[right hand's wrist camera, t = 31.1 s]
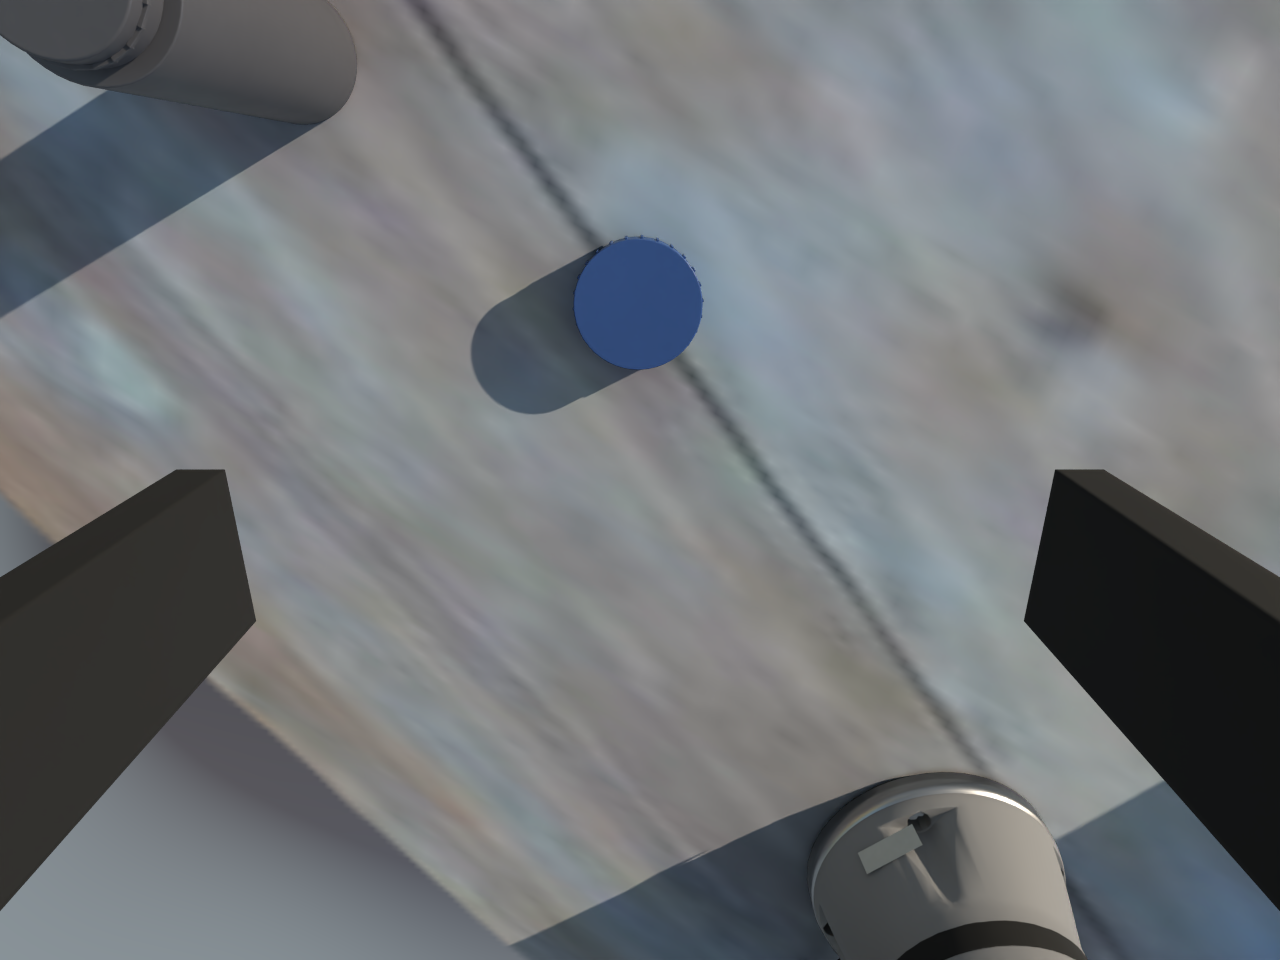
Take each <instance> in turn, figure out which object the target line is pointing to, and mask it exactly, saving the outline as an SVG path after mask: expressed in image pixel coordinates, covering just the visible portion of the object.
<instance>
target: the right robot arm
mask: <svg viewBox="0 0 1280 960" xmlns="http://www.w3.org/2000/svg"><path fill="white" fill-rule="evenodd" d="M255 622H256V618H255V614H254V609H253V604H252V599H251V594H250V589H249V584H248V580H247V575H246V570H245V565H244V560H243V555H242V551H241V546H240V541H239V536H238V531H237V526H236V521H235V517H234V512H233V507H232V502H231V497H230V492H229V488H228V483H227V478H226V473H225V470H175V471H173V472H172V473H170V474H168V475H167V476H165V477H163V478H162V479H160V480H159V481H157V482H155V483H154V484H152V485H150V486H149V487H147V488H146V489H144V490H142V491H141V492H139V493H137V494H136V495H134V496H132V497H131V498H129V499H128V500H126V501H124V502H123V503H121V504H119V505H118V506H116V507H114V508H113V509H111V510H110V511H108V512H106V513H105V514H103V515H101V516H100V517H98V518H96V519H95V520H93V521H92V522H90V523H88V524H87V525H85V526H83V527H82V528H80V529H78V530H77V531H75V532H74V533H72V534H70V535H69V536H67V537H65V538H64V539H62V540H61V541H59V542H57V543H56V544H54V545H52V546H51V547H49V548H47V549H46V550H44V551H43V552H41V553H39V554H38V555H36V556H34V557H33V558H31V559H29V560H28V561H26V562H25V563H23V564H21V565H20V566H18V567H16V568H15V569H13V570H12V571H10V572H8V573H7V574H5V575H3V576H2V577H0V911H1V909H2V908H3V907H4V906H5V905H6V904H7V903H8V902H9V900H10V899H11V898H12V897H13V896H14V895H15V894H16V892H17V891H18V890H19V889H20V888H21V887H22V886H23V885H24V883H25V882H26V881H27V880H28V879H29V878H30V877H31V875H32V874H33V873H34V872H35V871H36V870H37V869H38V868H39V866H40V865H41V864H42V863H43V862H44V861H45V860H46V858H47V857H48V856H49V855H50V854H51V853H52V852H53V850H54V849H55V848H56V847H57V846H58V845H59V844H60V843H61V841H62V840H63V839H64V838H65V837H66V836H67V835H68V833H69V832H70V831H71V830H72V829H73V828H74V827H75V826H76V824H77V823H78V822H79V821H80V820H81V819H82V818H83V817H84V815H85V814H86V813H87V812H88V811H89V810H90V809H91V807H92V806H93V805H94V804H95V803H96V802H97V801H98V800H99V798H100V797H101V796H102V795H103V794H104V793H105V792H106V790H107V789H108V788H109V787H110V786H111V785H112V784H113V783H114V781H115V780H116V779H117V778H118V777H119V776H120V775H121V773H122V772H123V771H124V770H125V769H126V768H127V767H128V766H129V764H130V763H131V762H132V761H133V760H134V759H135V758H136V756H137V755H138V754H139V753H140V752H141V751H142V750H143V749H144V747H145V746H146V745H147V744H148V743H149V742H150V741H151V739H152V738H153V737H154V736H155V735H156V734H157V733H158V731H159V730H160V729H161V728H162V727H163V726H164V725H165V724H166V722H167V721H168V720H169V719H170V718H171V717H172V716H173V715H174V713H175V712H176V711H177V710H178V709H179V708H180V707H181V705H182V704H183V703H184V702H185V701H186V700H187V699H188V698H189V696H190V695H191V694H192V693H193V692H194V691H195V690H196V689H197V687H198V686H199V685H200V684H201V683H202V682H203V681H204V679H205V678H206V677H207V676H208V675H209V674H210V673H211V672H212V670H213V669H214V668H215V667H216V666H217V665H218V664H219V662H220V661H221V660H222V659H223V658H224V657H225V656H226V655H227V653H228V652H229V651H230V650H231V649H232V648H233V647H234V645H235V644H236V643H237V642H238V641H239V640H240V639H241V638H242V636H243V635H244V634H245V633H246V632H247V631H248V630H249V628H250V627H251V626H252V625H253V624H254V623H255ZM1024 622H1025V623H1026V624H1027V625H1028V626H1029V627H1030V628H1031V630H1032V631H1033V632H1034V633H1035V634H1036V635H1037V636H1038V638H1039V639H1040V640H1041V641H1042V642H1043V643H1044V644H1045V645H1046V647H1047V648H1048V649H1049V650H1050V651H1051V652H1052V653H1053V655H1054V656H1055V657H1056V658H1057V659H1058V660H1059V661H1060V662H1061V664H1062V665H1063V666H1064V667H1065V668H1066V669H1067V670H1068V672H1069V673H1070V674H1071V675H1072V676H1073V677H1074V678H1075V679H1076V681H1077V682H1078V683H1079V684H1080V685H1081V686H1082V687H1083V689H1084V690H1085V691H1086V692H1087V693H1088V694H1089V695H1090V696H1091V698H1092V699H1093V700H1094V701H1095V702H1096V703H1097V704H1098V706H1099V707H1100V708H1101V709H1102V710H1103V711H1104V712H1105V713H1106V715H1107V716H1108V717H1109V718H1110V719H1111V720H1112V721H1113V722H1114V724H1115V725H1116V726H1117V727H1118V728H1119V729H1120V730H1121V732H1122V733H1123V734H1124V735H1125V736H1126V737H1127V738H1128V739H1129V741H1130V742H1131V743H1132V744H1133V745H1134V746H1135V747H1136V749H1137V750H1138V751H1139V752H1140V753H1141V754H1142V755H1143V756H1144V758H1145V759H1146V760H1147V761H1148V762H1149V763H1150V764H1151V766H1152V767H1153V768H1154V769H1155V770H1156V771H1157V772H1158V773H1159V775H1160V776H1161V777H1162V778H1163V779H1164V780H1165V781H1166V783H1167V784H1168V785H1169V786H1170V787H1171V788H1172V789H1173V790H1174V792H1175V793H1176V794H1177V795H1178V796H1179V797H1180V798H1181V800H1182V801H1183V802H1184V803H1185V804H1186V805H1187V806H1188V807H1189V809H1190V810H1191V811H1192V812H1193V813H1194V814H1195V815H1196V817H1197V818H1198V819H1199V820H1200V821H1201V822H1202V823H1203V824H1204V826H1205V827H1206V828H1207V829H1208V830H1209V831H1210V832H1211V834H1212V835H1213V836H1214V837H1215V838H1216V839H1217V840H1218V841H1219V843H1220V844H1221V845H1222V846H1223V847H1224V848H1225V849H1226V851H1227V852H1228V853H1229V854H1230V855H1231V856H1232V857H1233V858H1234V860H1235V861H1236V862H1237V863H1238V864H1239V865H1240V866H1241V868H1242V869H1243V870H1244V871H1245V872H1246V873H1247V874H1248V875H1249V877H1250V878H1251V879H1252V880H1253V881H1254V882H1255V883H1256V885H1257V886H1258V887H1259V888H1260V889H1261V890H1262V891H1263V892H1264V894H1265V895H1266V896H1267V897H1268V898H1269V899H1270V900H1271V902H1272V903H1273V904H1274V905H1275V906H1276V907H1277V908H1278V909H1279V911H1280V577H1278V576H1277V575H1275V574H1273V573H1272V572H1270V571H1269V570H1267V569H1265V568H1264V567H1262V566H1260V565H1259V564H1257V563H1255V562H1254V561H1252V560H1251V559H1249V558H1247V557H1246V556H1244V555H1242V554H1241V553H1239V552H1237V551H1236V550H1234V549H1233V548H1231V547H1229V546H1228V545H1226V544H1224V543H1223V542H1221V541H1219V540H1218V539H1216V538H1215V537H1213V536H1211V535H1210V534H1208V533H1206V532H1205V531H1203V530H1202V529H1200V528H1198V527H1197V526H1195V525H1193V524H1192V523H1190V522H1188V521H1187V520H1185V519H1184V518H1182V517H1180V516H1179V515H1177V514H1175V513H1174V512H1172V511H1170V510H1169V509H1167V508H1166V507H1164V506H1162V505H1161V504H1159V503H1157V502H1156V501H1154V500H1152V499H1151V498H1149V497H1148V496H1146V495H1144V494H1143V493H1141V492H1139V491H1138V490H1136V489H1134V488H1133V487H1131V486H1130V485H1128V484H1126V483H1125V482H1123V481H1121V480H1120V479H1118V478H1117V477H1115V476H1113V475H1112V474H1110V473H1108V472H1107V471H1105V470H1055V473H1054V478H1053V483H1052V488H1051V492H1050V497H1049V502H1048V507H1047V512H1046V517H1045V521H1044V526H1043V531H1042V536H1041V541H1040V546H1039V551H1038V555H1037V560H1036V565H1035V570H1034V575H1033V580H1032V584H1031V589H1030V594H1029V599H1028V604H1027V609H1026V614H1025V618H1024ZM807 883H808V889H809V893H810V898H811V902H812V906H813V910H814V914H815V917H816V920H817V922H818V925H819V927H820V929H821V930H822V932H823V934H824V936H825V937H826V939H827V941H828V942H829V944H830V945H831V947H832V948H833V950H834V951H835V952H836V953H837V954H838V956H839V957H840V959H838V960H1088V959H1087V958H1086V956H1085V954H1084V952H1083V950H1082V948H1081V945H1080V941H1079V936H1078V932H1077V928H1076V924H1075V920H1074V916H1073V912H1072V908H1071V904H1070V900H1069V896H1068V893H1067V889H1066V878H1065V872H1064V866H1063V862H1062V859H1061V855H1060V851H1059V849H1058V846H1057V844H1056V842H1055V840H1054V838H1053V837H1052V835H1051V833H1050V832H1049V830H1048V829H1047V827H1046V826H1045V824H1044V822H1043V821H1042V819H1041V818H1040V816H1039V814H1038V813H1037V812H1036V810H1035V809H1034V808H1033V807H1032V805H1031V804H1030V803H1028V802H1027V801H1026V800H1025V799H1024V798H1023V797H1022V796H1020V795H1019V794H1018V793H1017V792H1015V791H1013V790H1012V789H1010V788H1008V787H1006V786H1004V785H1002V784H1000V783H998V782H995V781H993V780H990V779H987V778H983V777H979V776H976V775H970V774H964V773H952V772H937V773H925V774H918V775H912V776H908V777H904V778H900V779H897V780H893V781H890V782H887V783H885V784H882V785H880V786H877V787H875V788H873V789H871V790H869V791H867V792H865V793H864V794H862V795H860V796H858V797H857V798H855V799H854V800H852V801H851V802H850V803H848V804H847V805H846V806H844V807H843V808H842V809H841V810H840V811H838V812H837V813H836V814H835V815H834V816H833V817H832V818H831V820H830V821H829V822H828V823H827V824H826V826H825V827H824V828H823V830H822V831H821V833H820V834H819V836H818V837H817V839H816V841H815V843H814V845H813V848H812V851H811V853H810V857H809V861H808V868H807Z"/></svg>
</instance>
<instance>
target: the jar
mask: <svg viewBox="0 0 1280 960" xmlns="http://www.w3.org/2000/svg"><path fill="white" fill-rule="evenodd" d="M0 35H1V36H2V37H3V38H5V39H6V40H7V41H9V42H10V43H11V44H13V45H15V46H16V47H18V48H19V49H21V50H23V51H25V52H26V53H27V54H29V55H30V56H31V57H32V58H33V59H34V60H35V61H37V62H38V63H39V64H41V65H42V66H43V67H45V68H46V69H48V70H50V71H51V72H53V73H54V74H56V75H58V76H60V77H62V78H64V79H67V80H69V81H71V82H74V83H77V84H80V85H84V86H89V87H95V88H100V89H106V90H111V91H117V92H122V93H128V94H133V95H139V96H144V97H150V98H155V99H161V100H167V101H172V102H178V103H183V104H189V105H194V106H200V107H205V108H211V109H216V110H222V111H227V112H233V113H239V114H244V115H250V116H255V117H261V118H266V119H272V120H277V121H283V122H288V123H294V124H314V123H318V122H321V121H324V120H326V119H328V118H330V117H331V116H333V115H334V114H336V113H337V112H338V111H339V110H340V109H341V108H342V107H343V106H344V104H345V103H346V102H347V100H348V98H349V97H350V95H351V92H352V90H353V87H354V84H355V79H356V73H357V58H356V51H355V46H354V42H353V39H352V36H351V34H350V31H349V29H348V27H347V25H346V24H345V22H344V20H343V18H342V17H341V16H340V14H339V13H338V12H337V10H336V9H335V8H334V7H333V6H332V5H331V4H330V3H329V2H328V1H326V0H0Z"/></svg>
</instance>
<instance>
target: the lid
mask: <svg viewBox="0 0 1280 960" xmlns="http://www.w3.org/2000/svg"><path fill="white" fill-rule="evenodd" d="M685 258H686V257H685V255H684V254H683V255H681V254H680V253H679V252H678V251H677V250H675V249H674V247H673V245H668V244H666V243H664V242H662V241H659V238H656V239H653V238H647V237H643V235H641V237H627V236H625V238H624V239H620V240H617V241H615V242H613V241H610V243H609V244H608V245H607V246H605V247H603V248H602V249H601V250H599V249H598V250H597V251H596V254H595V255H594V256H593V257H592V258H591V260H590V261H588V260H587V262H586V263H585V265H586V266H585V268H584V270H583V271H582V273H581V274H579V276H578V278H577V279H579V280H578V282H577V285H576V289H575V290H574V292H573V294H574V307H573V310H574V315H575V320H576V325H577V326H578V329H579V331H580V334H581V335H582V337H583V340H584V341H585V342H586V343H587V345H588V346H589V347H590V348H591V349H592V351H593V352H595V353H596V354H597V355H598V356H599V357H601V358H602V359H604V360H605V361H607V362H609V363H611V364H613V365H615V366H619V367H622V368H627V369H636V370H642V369H650V368H654V367H658V366H660V365H663V364H665V363H667V362H669V361H671V360H672V359H674V358H675V357H677V356H678V355H679V354H680V353H681V352H682V351H684V350H685V348H686V347H687V346H688V345H689V344H690V342H691V341H692V339H693V337H694V336H695V334H696V333H697V329H698V327H699V324H700V320H701V318H702V302H703V298H702V294H701V289H700V286H701V283H700V282H699V281H698V279H697V277H696V275H695V273H694V272H695V269H694V268H693V267H691V266H690V265H689V263H688V262H687V260H686V259H685Z"/></svg>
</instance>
